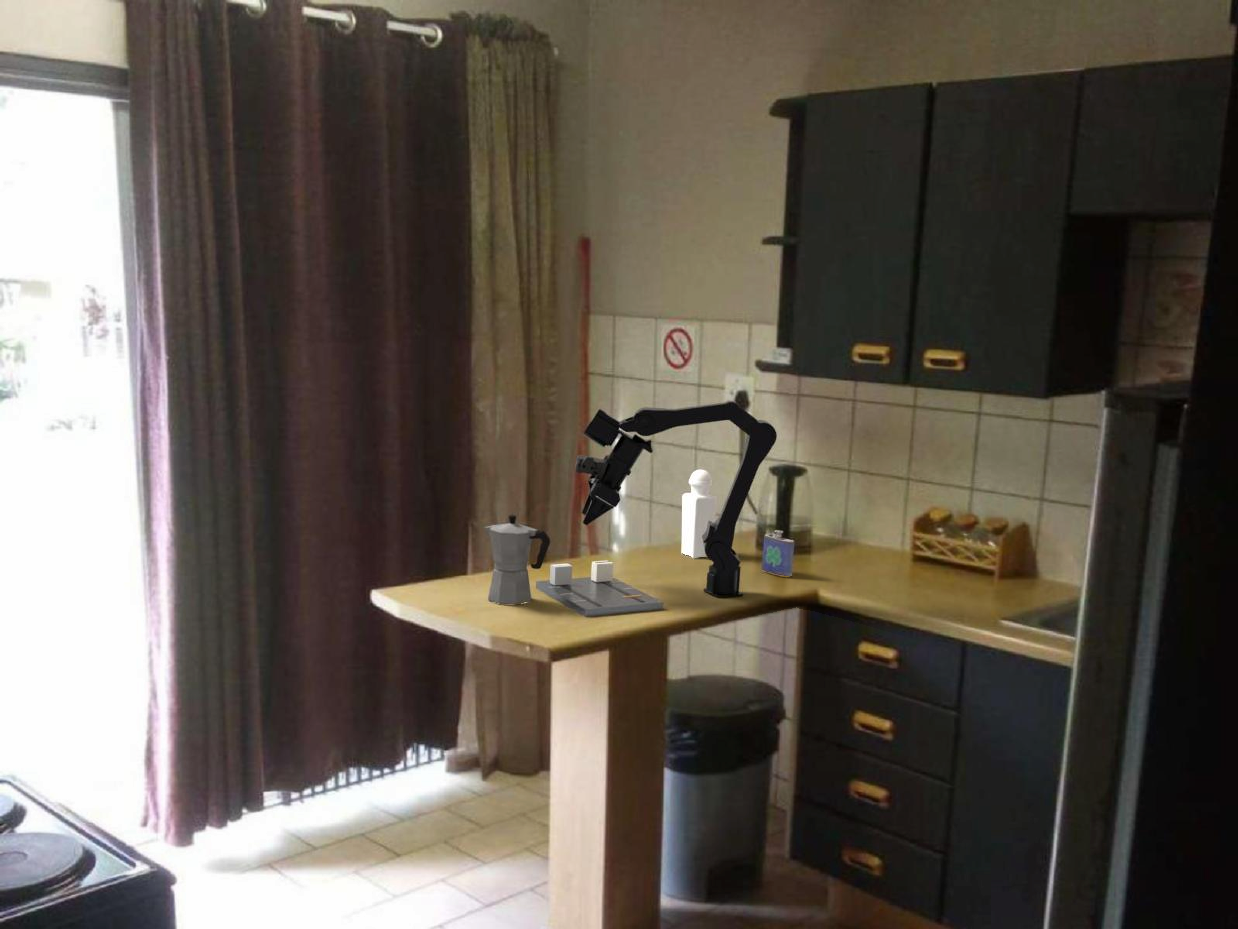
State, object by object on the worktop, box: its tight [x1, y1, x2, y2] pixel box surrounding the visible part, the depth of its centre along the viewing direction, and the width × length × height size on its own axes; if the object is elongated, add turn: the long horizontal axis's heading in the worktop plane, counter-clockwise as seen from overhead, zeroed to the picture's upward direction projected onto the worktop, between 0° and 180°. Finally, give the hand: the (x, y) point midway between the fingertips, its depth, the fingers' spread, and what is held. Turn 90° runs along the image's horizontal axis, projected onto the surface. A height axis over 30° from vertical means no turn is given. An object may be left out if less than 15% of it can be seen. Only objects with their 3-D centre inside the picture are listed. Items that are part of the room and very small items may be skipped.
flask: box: [761, 529, 795, 577], centre depth 273 cm, size 9×3×11 cm, turn 38°
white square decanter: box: [680, 469, 718, 559], centre depth 288 cm, size 6×6×22 cm
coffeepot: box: [483, 514, 551, 605], centre depth 237 cm, size 15×9×18 cm, turn 66°
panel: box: [535, 576, 664, 618], centre depth 243 cm, size 18×24×2 cm
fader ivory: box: [590, 560, 614, 582], centre depth 252 cm, size 4×2×4 cm, turn 118°
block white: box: [549, 563, 573, 585], centre depth 247 cm, size 4×2×4 cm, turn 118°
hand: (584, 519), depth 250 cm, fingers open, 9 cm apart
